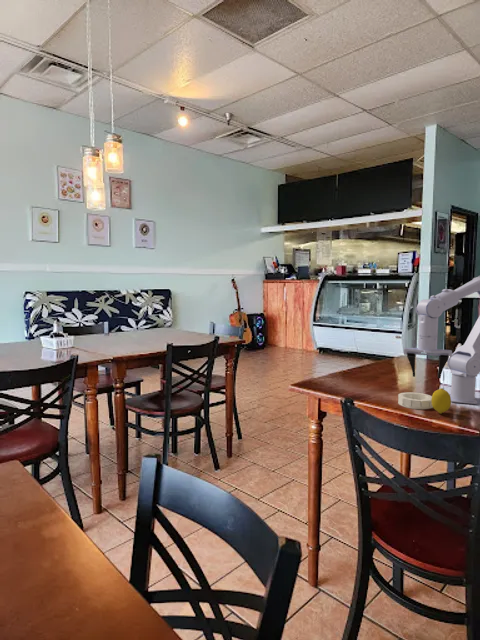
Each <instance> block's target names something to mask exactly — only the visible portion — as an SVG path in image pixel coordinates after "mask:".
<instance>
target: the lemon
mask: <svg viewBox="0 0 480 640" xmlns="http://www.w3.org/2000/svg"><path fill="white" fill-rule="evenodd" d="M449 394H450V393H449V392H448V391H447V390H445V389H444V388H441V387H440V388H439V389H437V390H434V392H433V393H432V395H431V396H432V399H431V402H432V406H433V408H432V409H434V411H436V412H438V413H439V414H441V415H442V414H443V413H444V412H445V413H446V412H448V411H449V409H450V408H451V405H452V402H451V397H450V395H449Z"/></svg>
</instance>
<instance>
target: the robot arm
mask: <svg viewBox="0 0 480 640" xmlns="http://www.w3.org/2000/svg"><path fill="white" fill-rule="evenodd" d="M474 293H477V294H478V296H479V297H480V275H478V276H477V277H473V278H472V280H470V281H468V282H466V283H465V284H463V285H461V286H459V287H457V288H456V289H451V288H449V289H448V288H444V289H442V290H441V291H440V293H437V294H436V295H431V296H430V297H429V299H424V298H423V299H421V300H420V301H419V302H418V303H417V306H416V307H415V308H414V309H415V313H416V315H417V316H418V318H417V319H418V341H417V342H418V343H417V345H418V346H417V347H403V355H406V357H407V359H408V361H409V364H410V368H411V371H412V377H416V355H418V356H432V357H433V356H437V357H438V370H437V379H441V377H442V373H443V371H444V368H445V365H446V364H447V368H448V369H449V370H450V373H451V384H450V385H451V386H450V387H451V389H450V393H449V395H450V397H451V403H458V404H459V403H461V404H470V405H471V404H473V405H478V401H477V399H476V377H478V375H479V374H480V315H478V318H477V320H476V321H475V323H474V325H473V327H472V328H471V330H470V333H469V335H468V336H467V338H466V340H465V342H464V343H463V345H460V346H459V347H456V349H455V351H454V352H453V350H452V349H440V348H438V336H439V335H438V334H439V333H438V332H439V317H440V316H442V314H443V312H444V311H447V310H449V309H451V308H453V307H454V306H457V305H458V304H459V301H460V300H461V299H463V298H466V297H468V296H470V295H472V294H474Z"/></svg>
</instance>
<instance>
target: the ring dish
mask: <svg viewBox="0 0 480 640" xmlns="http://www.w3.org/2000/svg"><path fill="white" fill-rule="evenodd" d="M397 399H398V400H397V401H398V402H397V404H398V405H399V406H401V407H404V408H406V409H411V410H412V409H413V410H430V409H434V408H433V406H432V402H431V399H432V395H430V394H427V393H422V392H421V393H420V392H412V391H411V392H410V391H409V392H401V393H398V394H397Z"/></svg>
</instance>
